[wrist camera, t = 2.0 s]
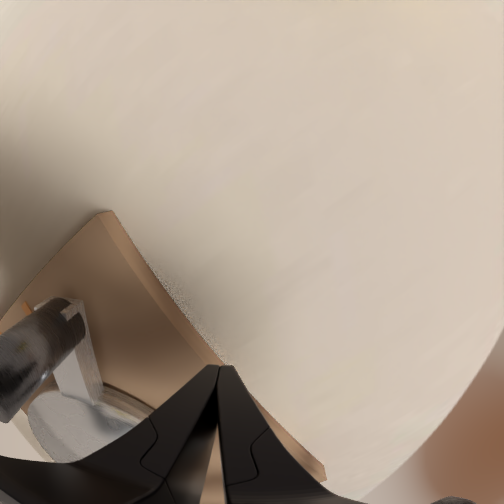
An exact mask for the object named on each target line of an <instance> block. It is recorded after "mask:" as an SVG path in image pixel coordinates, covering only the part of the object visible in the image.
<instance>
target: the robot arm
mask: <svg viewBox="0 0 504 504" xmlns="http://www.w3.org/2000/svg"><path fill="white" fill-rule="evenodd" d="M217 426H218V437H219V449H220V461H221V472H222V482H223V492H224V501H225V504H366V503H362V502H358V501H355V500H351V499H347V498H344V497H340V496H338V495H336V494H334V493H332V492H330V491H329V490H327V489H326V488H325V487H323V486H322V485H321V484H320V483H319V482H318V481H317V480H316V479H315V478H314V477H313V476H312V475H311V474H310V473H309V472H308V471H307V470H306V469H305V468H304V467H303V466H302V465H301V464H300V463H299V462H298V461H297V460H296V459H295V458H294V457H293V456H292V455H291V454H290V452H289V451H288V450H287V449H286V448H285V447H284V445H283V444H282V443H281V441H280V440H279V439H278V437H277V436H276V434H275V433H274V431H273V430H272V428H270V425H269V424H268V422H267V420H266V419H265V417H264V416H263V414H262V413H261V411H260V409H259V408H258V406H257V405H256V403H255V401H254V400H253V398H252V396H251V395H250V393H249V391H248V390H247V388H246V386H245V385H244V383H243V381H242V380H241V378H240V376H239V375H238V373H237V371H236V369H235V368H234V366H232V365H221V366H220V365H214V364H207V365H206V366H205V367H204V368H203V369H202V370H200V371H199V372H198V373H197V374H196V375H195V376H194V377H193V378H192V379H190V380H189V381H188V382H187V383H186V384H185V385H184V386H182V387H181V388H180V389H179V390H178V391H177V392H176V393H174V394H173V395H172V396H171V397H170V398H169V399H168V400H166V401H165V402H164V403H163V404H162V405H161V406H159V407H158V408H157V409H156V410H155V411H153V412H152V413H151V414H150V415H149V416H148V417H146V418H145V419H144V420H142V421H141V422H140V423H139V424H137V425H136V426H135V427H134V428H132V429H131V430H130V431H128V432H127V433H125V434H124V435H122V436H121V437H119V438H117V439H116V440H114V441H113V442H111V443H109V444H108V445H106V446H104V447H102V448H101V449H99V450H97V451H95V452H94V453H92V454H90V455H88V456H86V457H84V458H82V459H80V460H77V461H74V462H70V463H52V462H39V461H30V460H22V459H16V458H9V457H4V456H0V504H200V499H201V495H202V491H203V487H204V483H205V479H206V474H207V470H208V466H209V462H210V457H211V453H212V449H213V445H214V441H215V436H216V432H217ZM431 504H476V503H475V502H473V501H471V500H468V499H463V498H459V497H453V496H451V497H446V498H443V499H440V500H438V501H436V502H434V503H431Z"/></svg>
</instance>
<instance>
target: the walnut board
mask: <svg viewBox="0 0 504 504" xmlns="http://www.w3.org/2000/svg"><path fill="white" fill-rule="evenodd" d="M50 296H58V297H64V298H71V299H78V300H83V302H84V308H85V314H86V319H87V324H88V329H89V333H90V338H91V342H92V346H93V351H94V355H95V358H96V362H97V366H98V370H99V373H100V377H101V380H102V383H103V386H106V387H109V388H111V389H114V390H116V391H118V392H121V393H123V394H125V395H127V396H129V397H131V398H133V399H135V400H137V401H139V402H141V403H143V404H144V405H146V406H148V407H149V408H151V409H153V410H154V411H155V410H156V409H157V408H158V407H159V406H161V405H162V404H163V403H164V402H165V401H166V400H168V399H169V398H170V397H171V396H172V395H173V394H174V393H176V392H177V391H178V390H179V389H180V388H181V387H182V386H184V385H185V384H186V383H187V382H188V381H189V380H190V379H192V378H193V377H194V376H195V375H196V374H197V373H198V372H199V371H200V370H202V369H203V368H204V367H205V366H206V365H207V364H214V365H220V366H221V365H224V363H223V362H222V361H221V360H220V359H219V358H218V356H217V355H216V354H215V353H214V352H213V350H212V349H211V348H210V347H209V346H208V344H207V343H206V342H205V341H204V339H203V338H202V337H201V336H200V335H199V333H198V332H197V331H196V330H195V328H194V327H193V326H192V324H191V323H190V322H189V321H188V319H187V318H186V317H185V315H184V314H183V313H182V312H181V310H180V309H179V308H178V306H177V305H176V304H175V302H174V301H173V300H172V298H171V297H170V295H169V294H168V293H167V291H166V290H165V289H164V287H163V286H162V284H161V283H160V282H159V280H158V279H157V277H156V276H155V275H154V273H153V272H152V270H151V269H150V267H149V266H148V265H147V263H146V262H145V260H144V259H143V257H142V256H141V254H140V253H139V251H138V250H137V248H136V247H135V245H134V244H133V242H132V241H131V239H130V238H129V236H128V234H127V233H126V231H125V230H124V228H123V227H122V225H121V223H120V222H119V220H118V219H117V217H116V215H115V214H114V212H113V211H109V212H104V213H99V214H96V215H95V216H94V217H93V218H92V219H91V220H90V221H89V222H88V223H87V224H86V225H85V226H84V227H83V228H81V229H80V230H79V231H78V232H77V233H76V234H75V235H74V236H73V237H72V238H71V239H70V240H69V241H68V242H67V243H66V244H65V245H64V246H63V247H62V248H61V249H60V250H59V251H58V253H57V254H56V255H55V256H54V257H53V258H52V259H51V260H50V261H49V262H48V263H47V264H46V265H45V267H44V268H43V269H42V270H41V271H40V272H39V273H38V274H37V276H36V277H35V278H34V279H33V280H32V281H31V282H30V284H29V285H28V286H27V287H26V288H25V290H24V291H23V292H22V293H21V294H20V296H19V297H18V298H17V299H16V301H15V302H14V303H13V305H12V306H11V307H10V308H9V310H8V311H7V312H6V314H5V315H4V316H3V318H2V319H1V320H0V335H1V334H2V333H3V332H5V331H6V330H8V329H9V328H10V327H12V326H13V325H15V324H16V323H17V322H19V321H20V320H22V319H23V318H25V317H26V316H28V315H29V314H31V313H32V312H34V311H35V310H34V307H35V306H36V305H38V304H39V303H41V302H43V301H44V300H46V299H47V298H49V297H50ZM54 380H56V379H55V377H54V374H53V372H52V374H51V375H50V376H49V377H48V378H47V379H46V380H45V381H44V382H43V383H42V384H41V386H40V387H39V388H38V389H37V390H36V391H35V392H34V393H33V394H32V396H31V397H30V398H29V399H28V400H27V401H26V402H25V404H24V405H23V406H22V407H21V409H22V410H23V411H24V413H25V414H26V415H27V416H28V408H29V406H30V404H31V403H32V402H33V400H34V399H35V398H36V397H37V396H38V395H39V393H40V392H41V391H42V390H43V389H44V388H45V387H46V386H47V385H48V384H49V383H50V382H52V381H54ZM250 395H251V394H250ZM251 396H252V395H251ZM252 398H253V400H254V401H255V403H256V405H257V406H258V408H259V409H260V411H261V413H262V414H263V416H264V417H265V419H266V420H267V422H268V424H269V425H270V428H272V430H273V431H274V433H275V434H276V436H277V437H278V439H279V440H280V441H281V443H282V444H283V445H284V447H285V448H286V449H287V450H288V451H289V452H290V454H291V455H292V456H293V457H294V458H295V459H296V460H297V461H298V462H299V463H300V464H301V465H302V466H303V467H304V468H305V469H306V470H307V471H308V472H309V473H310V474H311V475H312V476H313V477H314V478H315V479H316V480H317V481H318V482H319V483H320V482H323V481H325V480H327V478H326V474H325V469H324V465H322V464H321V463H320V462H319V461H318V460H317V459H316V458H315V457H314V456H312V455H311V454H310V453H309V452H308V451H307V450H306V449H305V448H304V447H303V446H302V445H301V444H299V443H298V442H297V441H296V440H295V439H294V438H293V437H292V436H291V435H290V434H289V433H288V432H287V431H286V430H285V429H284V428H283V427H282V426H281V425H280V424H279V423H278V422H277V421H276V420H275V419H274V418H273V417H272V416H271V415H270V414H269V413H268V412H267V411H266V410H265V409H264V408H263V407H262V406H261V405H260V404H259V402H258V401H257V400H256V399H255V398H254V397H253V396H252ZM200 504H225V501H224V492H223V482H222V472H221V461H220V449H219V437H218V426H217V432H216V436H215V441H214V445H213V449H212V453H211V457H210V462H209V466H208V470H207V474H206V479H205V483H204V487H203V491H202V495H201V499H200Z"/></svg>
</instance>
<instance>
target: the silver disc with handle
mask: <svg viewBox="0 0 504 504" xmlns="http://www.w3.org/2000/svg"><path fill="white" fill-rule="evenodd" d="M34 310H35V311H34V312H32V313H31V314H29V315H28V316H26V317H25V318H23V319H22V320H20V321H19V322H17V323H16V324H15V325H13V326H12V327H10V328H9V329H8V330H6V331H5V332H3V333H2V334H1V335H0V421H1V422H3V423H8V422H9V421H10V420H11V419H12V418H13V416H14V415H15V414H16V413H17V412H18V411H19V409H20V408H21V407H22V406H23V405H24V404H25V402H26V401H27V400H28V399H29V398H30V397H31V396H32V394H33V393H34V392H35V391H36V390H37V389H38V388H39V387H40V386H41V384H42V383H43V382H44V381H45V380H46V379H47V378H48V377H49V376H50V375H51V374H52V372H53V374H54V377H55V379H56V380H54V381H52V382H50V383H49V384H48V385H47V386H46V387H45V388H44V389H43V390H42V391H41V392H40V393H39V395H38V396H37V397H36V398H35V399H34V400H33V402H32V403H31V404H30V406H29V408H28V421H29V424H30V427H31V429H32V431H33V433H34V435H35V437H36V439H37V440H38V442H39V443H40V444H41V446H42V447H43V448H44V450H45V451H46V452H47V453H48V454H49V455H50V456H51V457H52V458H53V459H54V460H55V461H56V462H57V463H70V462H74V461H77V460H80V459H82V458H84V457H86V456H88V455H90V454H92V453H94V452H95V451H97V450H99V449H101V448H102V447H104V446H106V445H108V444H109V443H111V442H113V441H114V440H116V439H117V438H119V437H121V436H122V435H124V434H125V433H127V432H128V431H130V430H131V429H132V428H134V427H135V426H136V425H137V424H139V423H140V422H141V421H142V420H144V419H145V418H146V417H148V416H149V415H150V414H151V413H152V412H153V411H154V410H153V409H151V408H149V407H148V406H146V405H144V404H143V403H141V402H139V401H137V400H135V399H133V398H131V397H129V396H127V395H125V394H123V393H121V392H118V391H116V390H114V389H111V388H109V387H106V386H103V383H102V380H101V377H100V373H99V370H98V366H97V362H96V358H95V355H94V351H93V346H92V342H91V338H90V333H89V329H88V324H87V319H86V314H85V308H84V302H83V300H78V299H71V298H64V297H58V296H50V297H49V298H47V299H46V300H44V301H43V302H41V303H39V304H38V305H36V306H35V307H34Z"/></svg>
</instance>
